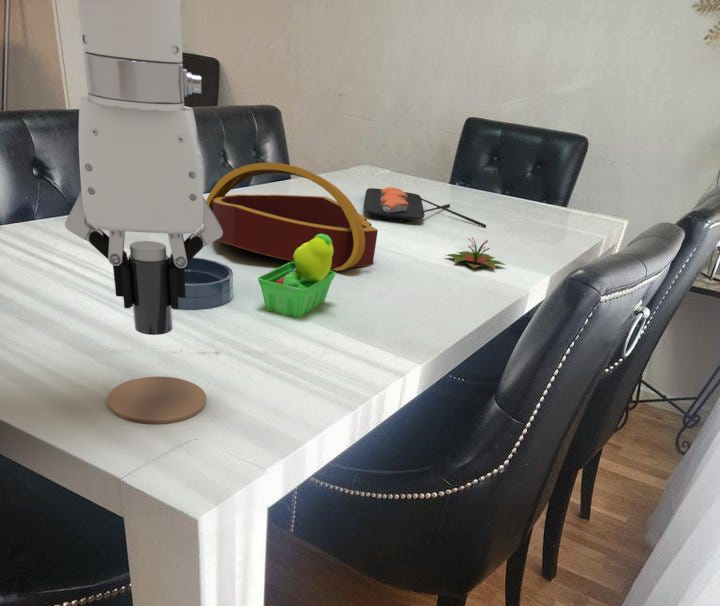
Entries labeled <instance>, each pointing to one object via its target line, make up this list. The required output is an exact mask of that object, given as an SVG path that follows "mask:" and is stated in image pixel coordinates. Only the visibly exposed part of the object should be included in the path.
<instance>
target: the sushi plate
mask: <svg viewBox="0 0 720 606" xmlns="http://www.w3.org/2000/svg"><path fill="white" fill-rule="evenodd" d="M423 202H425V203H426V204H430V205H432V206H434V207H432V208H429V209H424V205H423ZM448 206H450V207H451V204H450V203H448V204H443V205H439V204H437V203H433V202H431V201H429V200H427V199H425V198H422V197H421V196H420V194H417V193H414V192H407V191H403V190H402V189H400V188H399V187H392V186H391V187H390V186H389V187H385V188H373V187H368V188H367V189H366V190H365V194H364V200H363V211H364V212H366V213H369V214H372V215H374V216H375V217H376V218H379V219H383V218H384V219H383V220H389V219H392V220H391V221H397V220H403V221H402V222H410V221H411V220H422V219H424V218H425V213H427V212H431V211H435V210H440V209H441V210H444V211H446V212H447V213H450V214H453V215H454V216H457V217H460V218H462V219H464V220H465V221H469V222H471V223H473V224H476V225H477V224H478V225H477V226H480V225H481V226H480V227H482V226H484V227H483V228H487V224H486V223H483V222H480V221H478V220H476V219H473V218H470V217H469V216H465V215H463V214H462V213H458V212H456V211H453V210H450V209H448V208H449V207H448ZM409 220H410V221H409Z"/></svg>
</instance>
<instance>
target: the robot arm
mask: <svg viewBox="0 0 720 606" xmlns="http://www.w3.org/2000/svg"><path fill="white" fill-rule="evenodd" d="M77 7H78V16H79V17H78V18H79V27H80V33H81V34H80V35H81V43H82V51H83V62H84V71H85V81H86V89H87V96H82V97H79V107H78V159H79V162H78V163H79V175H80V176H79V177H80V188H81V190H80V192H79V194H78V197H77V199H76V201H75V203H74V204H73V207H72V208H71V210H70V212H69V214H68V215H67V218H66V220H65V222H64V227H65V228H66V230H67V231H68V232H70V233H72V234H74V235H75V236H77V237H79V238H81V239H82V240H84V241H86V242H88V243H90V245H91V246H93V247H94V249H96V251H98V252H99V253H100V254H102V255H103V257H104V258H106V259H107V261H108V263H109V264H110V265H112V271H113V278H114V279H113V280H114V281H113V282H114V290H115V296H116V297H123V299H122V300H123V307H124V308H123V309H131V308H133V301H132V289H131V278H130V267H129V258H128V257H129V256H128V253H127V252H126V251H125V238H126V232H128V233H129V232H130V233H152V234H167V235H168V241H169V245H170V250H171V253H170V255H169V257H171V261H169V281H170V298H171V308H172V310H180V309H179V306H178V298H186V296H185V273H184V267H186V265H187V263H188V262H189V261H190V260H191V259H192V258H193V257H195V256H196V255H197V254H198V253H199V252H200V251H201V250H203V248H204V247H206V246H209V245H210V244H213V243H214V242H216V241H217V239H219V238H221V237H222V235H223V231H222V227H221V225H220V224H219V222H218V220H217V219H216V217H215V215H214V214H213V212H212V210H211V209H210V207H209V205H208V204H207V202H206V200H207V199H206V198H205V196H204V191H203V190H204V189H203V175H202V173H203V171H202V162H201V151H200V144H199V134H198V127H197V123H196V122H197V121H196V117H195V113H194V109H193V107H190V106H185V98H188V96H189V95H191V96H192V95H193V94H202V75H201V74H193V73H192V71H188V70H187V69H186V68H184V65H183V61H184V60H183V37H182V12H181V10H182V9H181V7H182V6H181V0H77ZM202 226H203V227H202ZM103 230H104V231H109V234H108V235H107V234H106V232H104V231H103ZM187 234H190V235H189V236H188V237H187V238H186V239H185V238H184V235H187Z"/></svg>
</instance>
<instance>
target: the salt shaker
mask: <svg viewBox="0 0 720 606" xmlns="http://www.w3.org/2000/svg"><path fill="white" fill-rule="evenodd" d="M127 257H128V259H129V267H130V278H131V289H132V301H133V307H132V312H133V323H134V330H135V331H136V332H138V333H140V334H144V335H148V336H159V335H165V334H168V333H171V331H172V330H173V329H174V328H173V326H174V325H173V308H171V298H170V281H169V257H170V256H168V254H167V245H165V244H164V243H161V242H159V241H152V240H140V241H134V242H131V243H130V244H129V254H128V256H127Z"/></svg>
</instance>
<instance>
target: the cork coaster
mask: <svg viewBox="0 0 720 606" xmlns="http://www.w3.org/2000/svg"><path fill="white" fill-rule="evenodd" d="M206 404H207V395H206V392H205V391H204V390H203V388H201V387H200V386H199V385H197V384H195V383H194V382H192V381H189V380H186V379H182V378H178V377H173V376H160V375H159V376H144V377H139V378H138V377H137V378H134V379H130V380H127V381H124V382H123V383H120V384H118V385H116V386H115V387H114V388H112V389H111V391H110V392H109V393H108V395H107V405H108V408H109V410H110V411H111V412H112V413H113V414H114V415H116V416H117V417H119V418H121V419H124V420H127V421H129V422H134V423H140V424H147V425H150V424H151V425H156V424H157V425H162V424H164V425H165V424H171V423H177V422H181V421H185V420H187V419H190V418H192V417H194V416H196V415H198V414H199V413H200V412H202V410H203V409H204V408H205V406H206Z"/></svg>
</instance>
